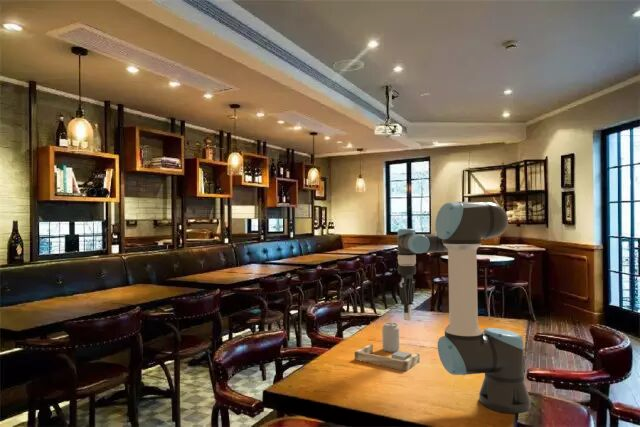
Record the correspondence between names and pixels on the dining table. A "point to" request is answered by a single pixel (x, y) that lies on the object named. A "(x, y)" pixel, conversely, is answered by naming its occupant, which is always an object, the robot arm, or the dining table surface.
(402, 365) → the tray
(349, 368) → the dining table surface
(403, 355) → the pale grey square block
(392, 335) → the can
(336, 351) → the dining table surface
